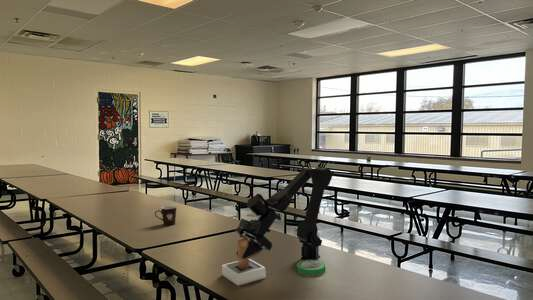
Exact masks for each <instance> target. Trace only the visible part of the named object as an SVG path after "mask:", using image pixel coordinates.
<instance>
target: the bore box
mask: <svg viewBox="0 0 533 300" xmlns="http://www.w3.org/2000/svg"><path fill="white" fill-rule="evenodd" d="M266 274H267V273H266V267H265V266H264V265H262V264H260V263H258V262H256V261H254V260H253V259H251V258H249V269H247V270H243V271H240V270H238V260H236V261H233V262H228V263H225V264H221V275H222V277H224V278H226V279H227V280H229V281H230V282H231V283H233V284H234V285H236V286H237V287H238V286H242V285H246V284H249V283H253V282H256V281H261V280H263V279H266V276H267V275H266Z"/></svg>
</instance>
